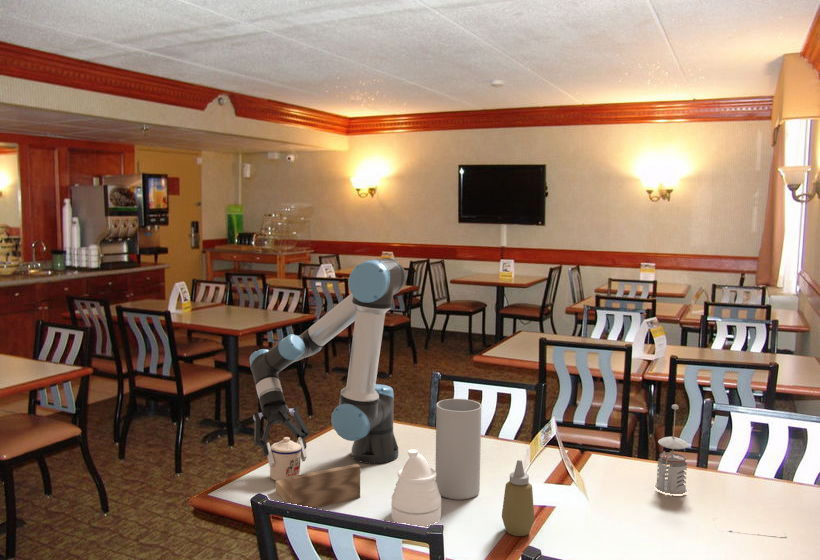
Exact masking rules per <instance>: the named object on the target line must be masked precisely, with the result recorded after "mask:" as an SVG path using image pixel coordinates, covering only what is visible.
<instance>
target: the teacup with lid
mask: <svg viewBox="0 0 820 560" xmlns="http://www.w3.org/2000/svg"><path fill="white" fill-rule="evenodd" d="M270 447H271V451H272V455H273V459H274V465H273V467H270V466H269V468H270V469H269V476H270V478H271V479H272V480H274V481H275V482H276V481H278V480H283V479H288V478H291V476H295V475H301V450H302V448H301V445H300V444H298V443H297V441H295V442H294V441H293V440H291V437H289V436H285V437H283V439H282V440H280V441H278V442H274V443H273V444H272V445H270Z"/></svg>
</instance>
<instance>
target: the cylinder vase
mask: <svg viewBox="0 0 820 560" xmlns="http://www.w3.org/2000/svg"><path fill="white" fill-rule="evenodd" d="M435 405H436V409H435V410H436V411H435V412H436V416H435V417H436V419H435V469H434V471H435V472H436V474H437V475H436V478H435V482H436V483H437V487H438V490H439V493H440V495H441V497H443V498H446V499H450V500H456V501H457V500H458V501H459V500H460V501H462V500H468V499H469V500H470V499H472V498H475V497H476V496H478V495H479V493H480V490H481V489H480V487H481V450H482V449H481V446H482V441H481V440H482V404H481V403H480V402H478V401H476V400H472V399H466V398H449V399H448V398H447V399H442V400H439V401H437V403H436V404H435Z"/></svg>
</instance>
